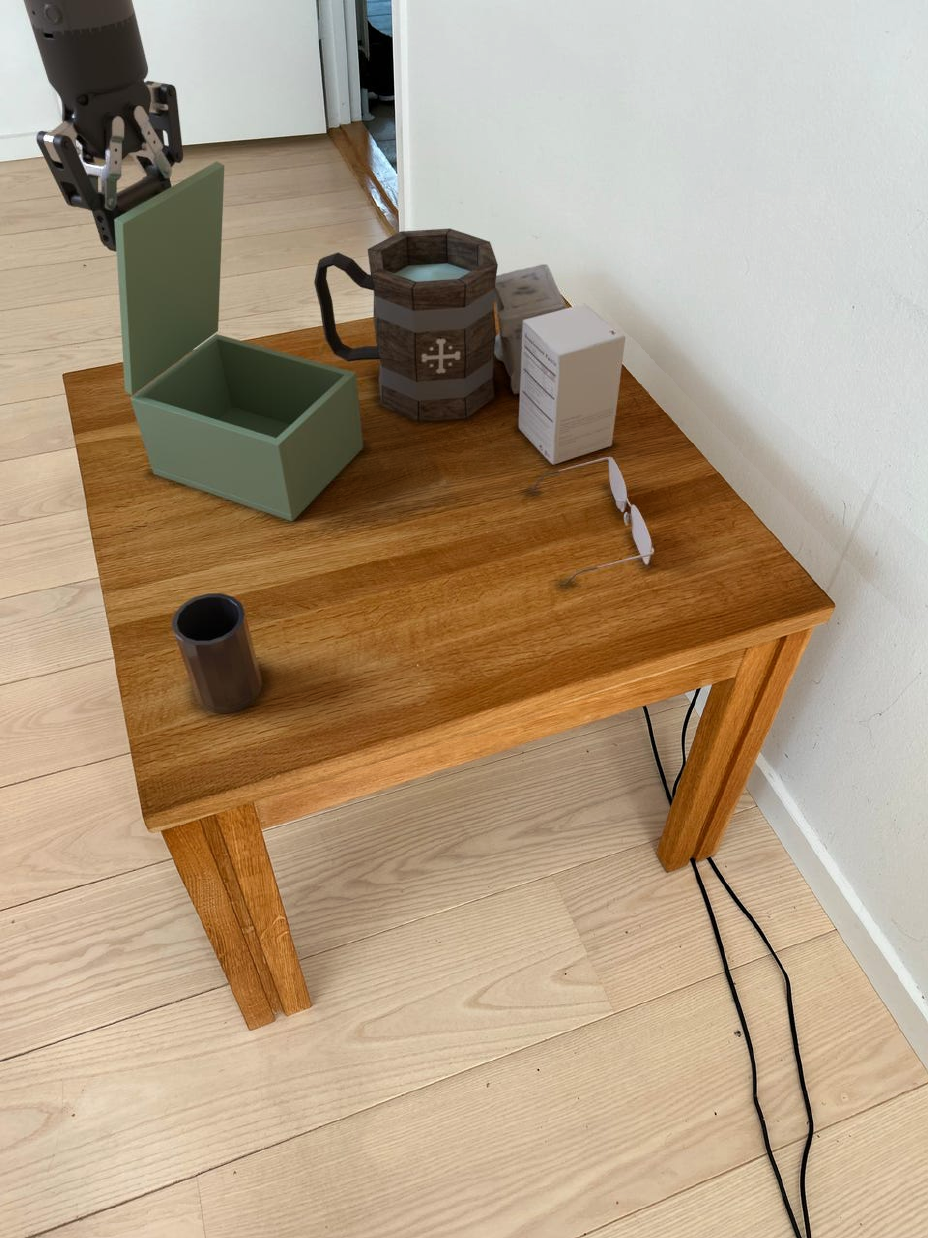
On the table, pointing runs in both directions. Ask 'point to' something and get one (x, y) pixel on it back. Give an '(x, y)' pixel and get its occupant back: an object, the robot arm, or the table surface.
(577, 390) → the white packaging box
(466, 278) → the mug
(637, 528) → the eyeglasses
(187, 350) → the lid
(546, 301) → the incense holder
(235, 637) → the cup
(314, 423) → the chest
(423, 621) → the table surface
